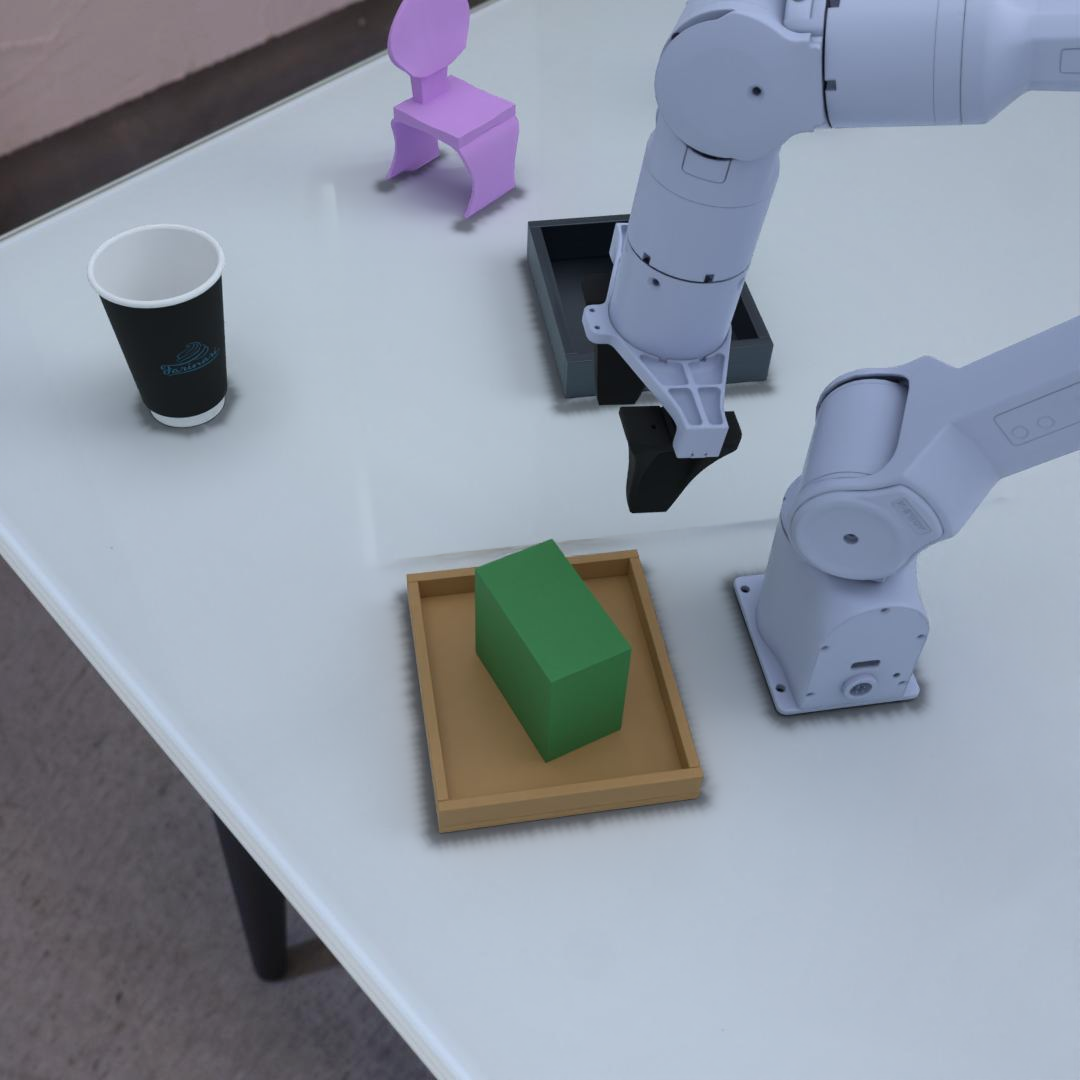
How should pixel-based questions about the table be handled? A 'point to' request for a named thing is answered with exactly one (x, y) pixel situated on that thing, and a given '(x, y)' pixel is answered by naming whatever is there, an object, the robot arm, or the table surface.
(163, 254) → the dixie cup
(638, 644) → the tray
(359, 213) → the table surface
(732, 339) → the dark grey tray
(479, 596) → the green rectangular block
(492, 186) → the toy chair
